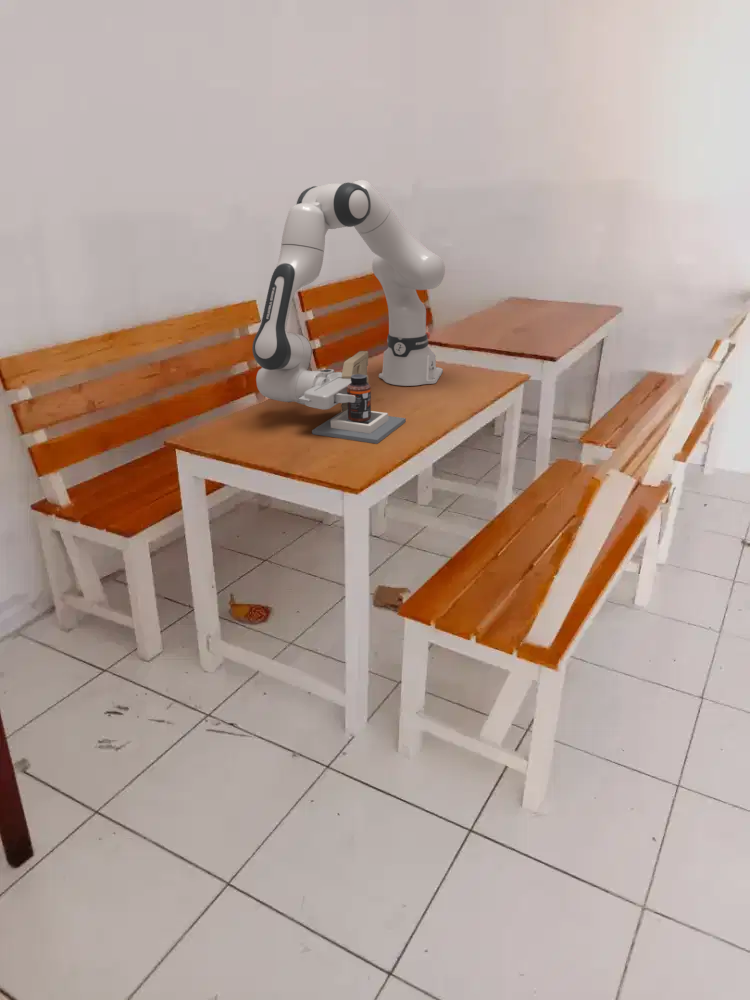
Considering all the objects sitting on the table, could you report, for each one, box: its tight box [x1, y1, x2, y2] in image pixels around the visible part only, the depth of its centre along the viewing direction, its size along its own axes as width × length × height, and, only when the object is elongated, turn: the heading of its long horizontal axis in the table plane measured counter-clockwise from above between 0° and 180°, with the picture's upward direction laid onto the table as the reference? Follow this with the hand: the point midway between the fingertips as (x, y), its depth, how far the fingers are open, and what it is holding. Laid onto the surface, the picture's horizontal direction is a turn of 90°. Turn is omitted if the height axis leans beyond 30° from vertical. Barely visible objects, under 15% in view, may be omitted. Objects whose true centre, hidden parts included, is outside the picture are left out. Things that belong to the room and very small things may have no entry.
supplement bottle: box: [347, 374, 372, 422], centre depth 199 cm, size 6×6×11 cm
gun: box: [340, 350, 369, 413], centre depth 217 cm, size 24×3×15 cm, turn 170°
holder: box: [311, 410, 407, 445], centre depth 202 cm, size 18×18×3 cm
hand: (362, 394), depth 198 cm, fingers closed on supplement bottle, 6 cm apart
